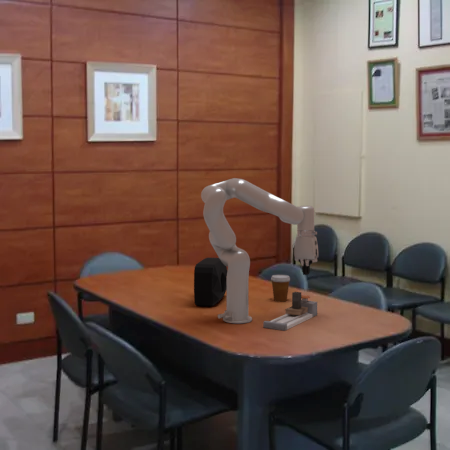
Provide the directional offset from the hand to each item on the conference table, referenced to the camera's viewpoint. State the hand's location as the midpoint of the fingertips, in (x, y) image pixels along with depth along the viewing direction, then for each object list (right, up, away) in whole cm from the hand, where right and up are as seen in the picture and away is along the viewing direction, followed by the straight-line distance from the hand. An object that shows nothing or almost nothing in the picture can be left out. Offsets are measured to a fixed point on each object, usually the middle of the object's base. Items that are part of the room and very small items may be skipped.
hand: (306, 274), depth 318 cm
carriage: (-5, -17, -5) cm, 18 cm away
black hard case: (-42, -16, +30) cm, 54 cm away
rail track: (-8, -20, -9) cm, 23 cm away
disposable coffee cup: (-9, -15, +32) cm, 36 cm away
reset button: (0, -12, +1) cm, 12 cm away
